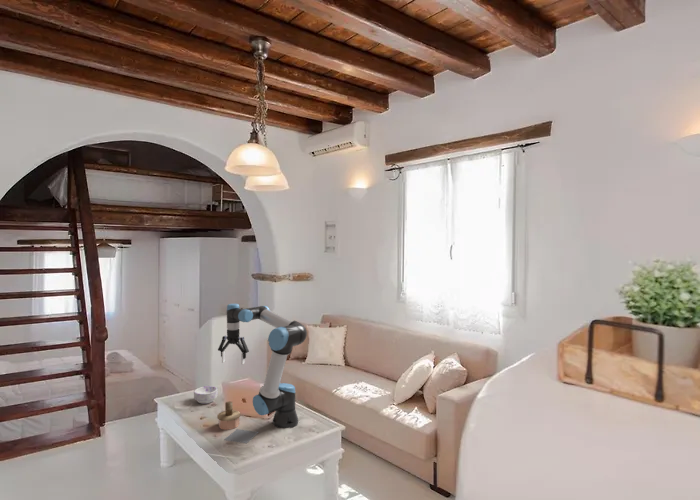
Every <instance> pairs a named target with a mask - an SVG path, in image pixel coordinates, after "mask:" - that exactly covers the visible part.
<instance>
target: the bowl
mask: <svg viewBox="0 0 700 500" xmlns="http://www.w3.org/2000/svg"><path fill="white" fill-rule="evenodd" d="M239 425H240V417H239V418H237V419H235V420H231V421H221V420H219V419H218V427H219V429H221V430H226V431H227V430H234V429H237V428H238V426H239Z"/></svg>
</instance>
